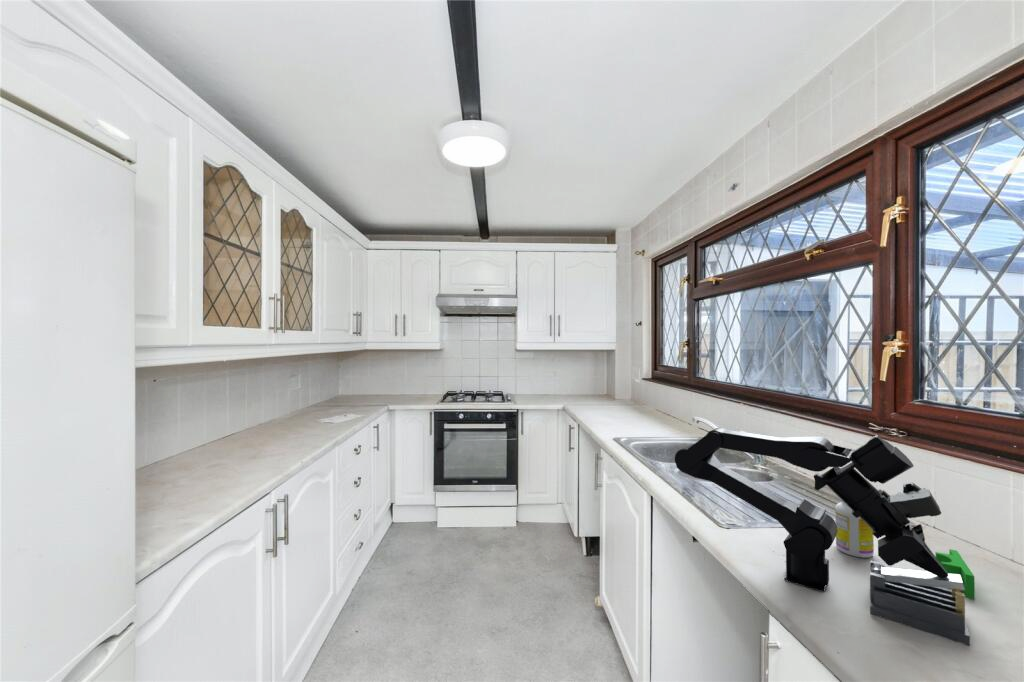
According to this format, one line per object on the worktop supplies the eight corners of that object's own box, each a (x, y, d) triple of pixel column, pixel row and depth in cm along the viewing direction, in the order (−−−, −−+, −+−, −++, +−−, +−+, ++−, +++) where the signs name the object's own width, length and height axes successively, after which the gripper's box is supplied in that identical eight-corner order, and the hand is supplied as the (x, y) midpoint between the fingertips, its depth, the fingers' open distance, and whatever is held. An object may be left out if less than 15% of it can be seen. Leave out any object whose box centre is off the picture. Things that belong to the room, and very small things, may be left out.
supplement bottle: (874, 550, 96) (874, 494, 96) (872, 562, 91) (872, 503, 91) (837, 541, 101) (836, 487, 100) (834, 552, 96) (833, 495, 96)
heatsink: (870, 614, 75) (869, 575, 74) (870, 587, 82) (870, 553, 82) (969, 645, 67) (969, 602, 67) (960, 613, 74) (960, 575, 74)
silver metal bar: (872, 582, 77) (869, 571, 77) (872, 573, 79) (870, 563, 80) (965, 593, 69) (962, 581, 69) (962, 583, 72) (959, 571, 72)
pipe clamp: (932, 567, 89) (931, 545, 89) (957, 572, 87) (957, 550, 87) (946, 593, 80) (946, 569, 80) (974, 600, 78) (974, 575, 78)
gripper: (904, 486, 68) (1009, 580, 61) (900, 459, 82) (984, 533, 75) (843, 522, 73) (933, 611, 66) (848, 491, 87) (923, 562, 80)
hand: (945, 576), depth 72 cm, fingers closed, pressing on silver metal bar
